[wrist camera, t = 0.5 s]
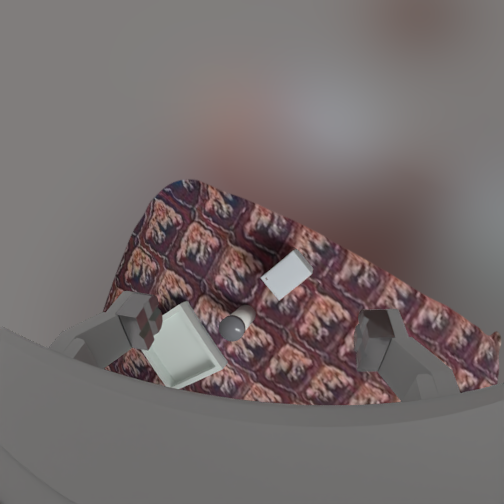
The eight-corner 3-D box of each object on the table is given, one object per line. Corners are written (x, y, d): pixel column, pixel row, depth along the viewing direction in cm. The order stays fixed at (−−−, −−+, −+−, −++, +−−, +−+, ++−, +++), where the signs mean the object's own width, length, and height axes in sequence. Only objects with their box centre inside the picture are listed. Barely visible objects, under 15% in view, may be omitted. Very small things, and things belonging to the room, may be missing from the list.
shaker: (260, 317, 62) (248, 334, 51) (243, 327, 63) (228, 345, 52) (249, 300, 63) (234, 312, 51) (232, 310, 64) (214, 324, 52)
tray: (227, 362, 65) (222, 369, 61) (177, 386, 68) (170, 392, 65) (187, 300, 66) (179, 304, 62) (140, 331, 70) (132, 335, 66)
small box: (285, 291, 61) (278, 302, 50) (268, 271, 61) (259, 278, 51) (313, 268, 59) (313, 274, 49) (297, 248, 60) (293, 250, 49)
